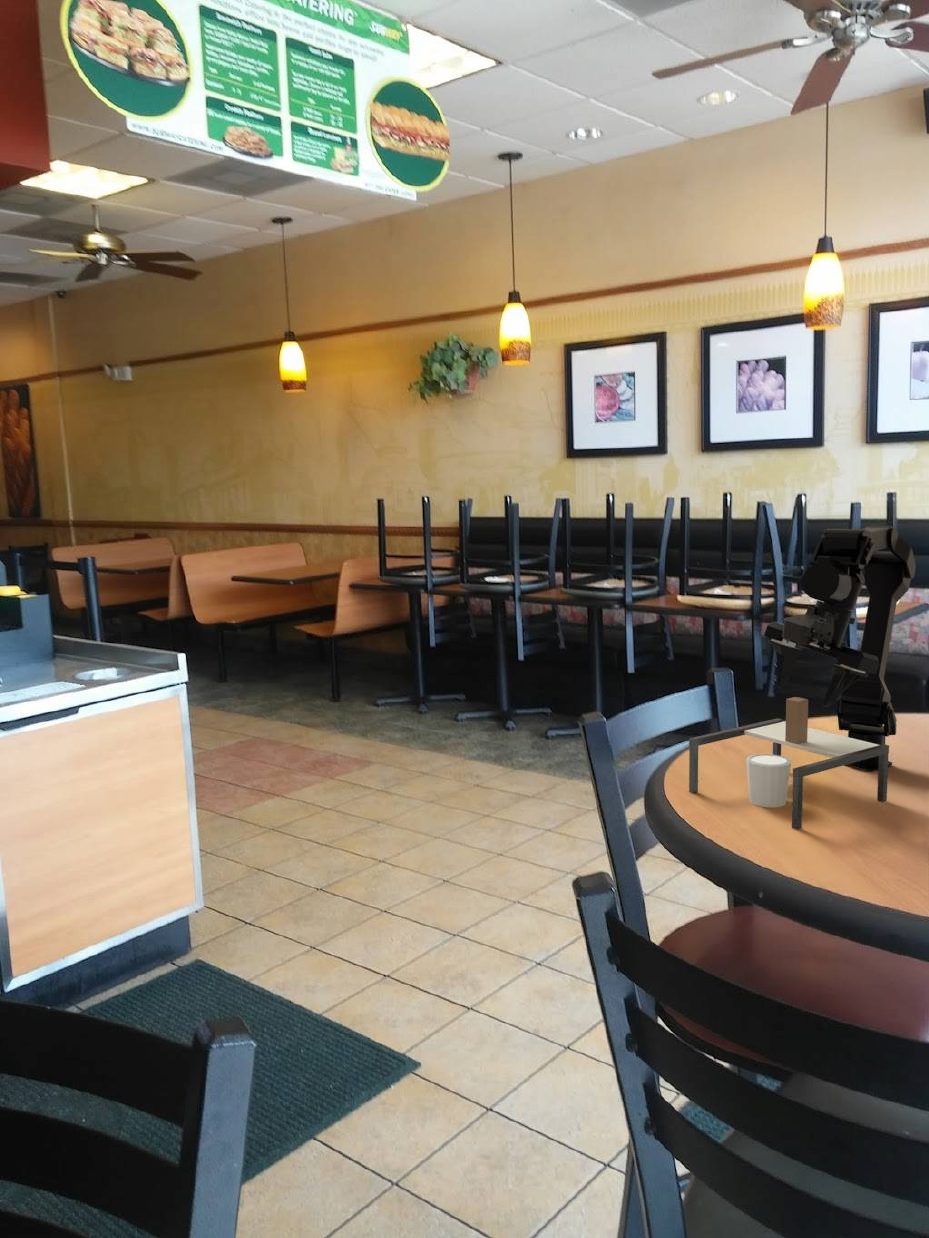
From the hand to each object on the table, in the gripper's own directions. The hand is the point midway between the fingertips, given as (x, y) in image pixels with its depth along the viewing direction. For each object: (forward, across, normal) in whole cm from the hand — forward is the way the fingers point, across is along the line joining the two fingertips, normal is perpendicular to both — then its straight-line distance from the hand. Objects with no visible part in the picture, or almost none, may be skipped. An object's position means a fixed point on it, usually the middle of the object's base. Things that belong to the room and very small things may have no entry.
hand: (802, 696), depth 163 cm
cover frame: (+16, +3, +1) cm, 16 cm away
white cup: (+18, +3, -3) cm, 18 cm away
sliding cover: (+7, +2, +4) cm, 8 cm away
